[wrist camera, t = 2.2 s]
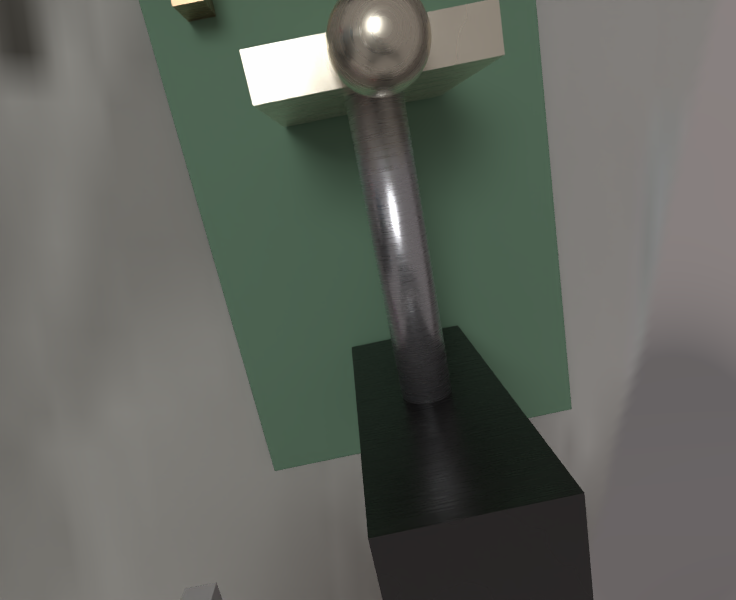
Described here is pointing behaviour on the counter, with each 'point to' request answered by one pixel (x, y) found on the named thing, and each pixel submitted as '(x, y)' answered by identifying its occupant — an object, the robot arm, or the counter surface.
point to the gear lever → (428, 328)
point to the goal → (194, 9)
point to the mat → (365, 219)
